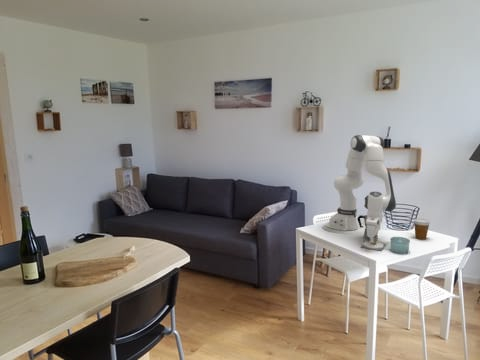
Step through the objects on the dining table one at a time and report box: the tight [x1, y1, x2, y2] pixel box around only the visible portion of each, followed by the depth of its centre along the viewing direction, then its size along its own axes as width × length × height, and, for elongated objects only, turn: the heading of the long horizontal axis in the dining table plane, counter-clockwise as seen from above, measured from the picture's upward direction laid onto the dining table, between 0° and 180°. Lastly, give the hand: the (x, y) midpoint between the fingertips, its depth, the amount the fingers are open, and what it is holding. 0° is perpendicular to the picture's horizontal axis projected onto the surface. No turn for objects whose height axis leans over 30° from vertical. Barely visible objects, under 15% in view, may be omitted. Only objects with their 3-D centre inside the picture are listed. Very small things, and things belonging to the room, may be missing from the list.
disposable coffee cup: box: [413, 218, 431, 241], centre depth 232 cm, size 10×10×12 cm
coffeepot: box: [356, 214, 379, 241], centre depth 233 cm, size 15×9×18 cm, turn 80°
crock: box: [389, 236, 411, 255], centre depth 211 cm, size 11×11×7 cm
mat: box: [360, 240, 386, 252], centre depth 220 cm, size 12×12×1 cm
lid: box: [363, 237, 385, 249], centre depth 219 cm, size 12×12×5 cm
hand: (373, 240), depth 219 cm, fingers open, 7 cm apart
